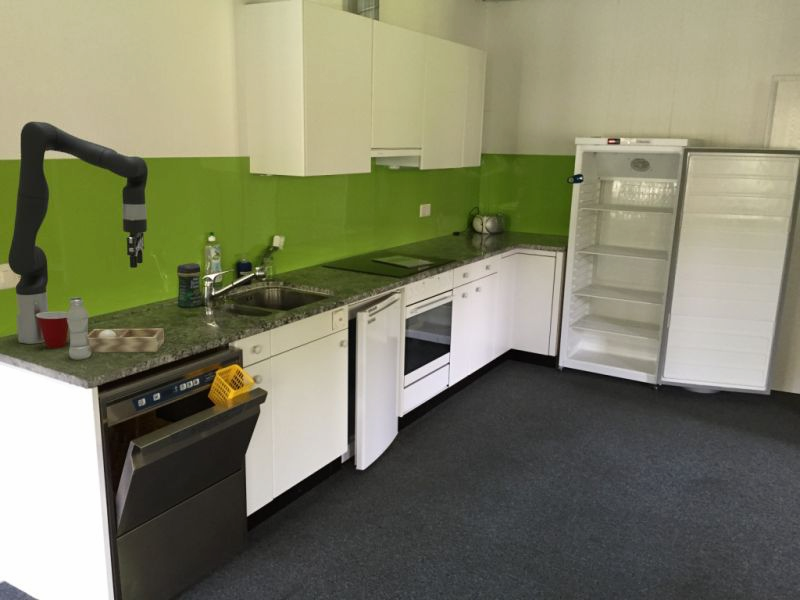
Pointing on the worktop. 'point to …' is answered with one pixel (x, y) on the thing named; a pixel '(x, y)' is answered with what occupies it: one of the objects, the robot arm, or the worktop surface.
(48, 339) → the plastic cup
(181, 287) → the coffee jar
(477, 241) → the worktop surface
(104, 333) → the white ball
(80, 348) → the plastic bottle
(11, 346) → the worktop surface
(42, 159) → the robot arm
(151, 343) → the crate
